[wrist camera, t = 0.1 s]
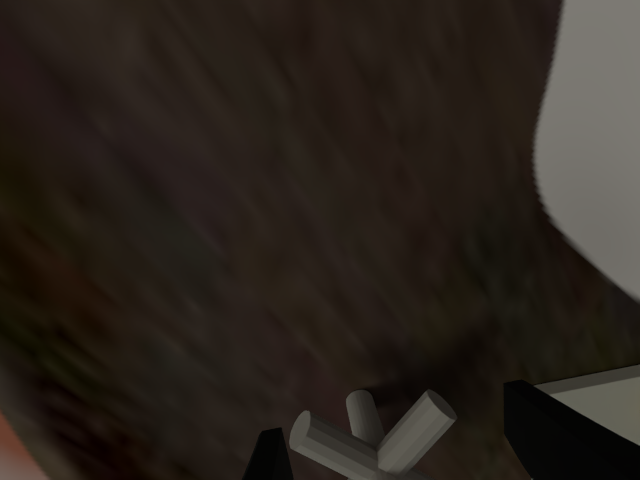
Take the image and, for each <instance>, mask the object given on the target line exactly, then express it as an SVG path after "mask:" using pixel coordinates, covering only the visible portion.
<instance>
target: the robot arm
mask: <svg viewBox="0 0 640 480" xmlns="http://www.w3.org/2000/svg"><path fill="white" fill-rule="evenodd" d="M504 434H505V436H506V438H507V439H508V441H509V443H510V445H511V446H512V448H513V450H514V452H515V453H516V455H517V457H518V458H519V460H520V461H521V463H522V465H523V466H524V468H525V469H526V471H527V472H528V474H529V475H530V476H531V478H532V479H533V480H640V446H639V445H637V444H636V443H634V442H632V441H630V440H628V439H626V438H624V437H622V436H620V435H618V434H617V433H615V432H613V431H611V430H609V429H607V428H605V427H604V426H602V425H600V424H598V423H596V422H595V421H593V420H591V419H589V418H588V417H586V416H584V415H582V414H581V413H579V412H577V411H575V410H574V409H572V408H570V407H569V406H567V405H565V404H563V403H562V402H560V401H558V400H557V399H555V398H553V397H552V396H550V395H548V394H546V393H545V392H543V391H541V390H540V389H538V388H536V387H535V386H533V385H531V384H529V383H527V382H526V381H524V380H517V381H512V382H507V383H504ZM242 480H293V474H292V469H291V465H290V461H289V457H288V453H287V449H286V444H285V440H284V436H283V432H282V428H281V427H280V428H275V429H270V430H265V431H262V432H261V433H260V435H259V437H258V440H257V443H256V446H255V448H254V451H253V454H252V456H251V459H250V461H249V464H248V466H247V469H246V471H245V474H244V476H243V478H242Z"/></svg>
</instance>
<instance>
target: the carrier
mask: <svg viewBox="0 0 640 480" xmlns="http://www.w3.org/2000/svg"><path fill="white" fill-rule="evenodd" d="M534 386H535V387H536V388H538V389H540V390H541V391H543V392H545V393H546V394H548V395H550V396H552V397H553V398H555V399H557V400H558V401H560V402H562V403H563V404H565V405H567V406H569V407H570V408H572V409H574V410H575V411H577V412H579V413H581V414H582V415H584V416H586V417H588V418H589V419H591V420H593V421H595V422H596V423H598V424H600V425H602V426H604V427H605V428H607V429H609V430H611V431H613V432H615V433H617V434H618V435H620V436H622V437H624V438H626V439H628V440H630V441H632V442H634V443H636V444H637V445H639V446H640V365H635V366H630V367H625V368H620V369H615V370H610V371H605V372H600V373H595V374H590V375H585V376H580V377H575V378H570V379H564V380H559V381H554V382H549V383H544V384H539V385H534ZM532 480H533V479H532Z"/></svg>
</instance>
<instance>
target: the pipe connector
mask: <svg viewBox="0 0 640 480" xmlns="http://www.w3.org/2000/svg"><path fill="white" fill-rule="evenodd" d="M346 405H347V410H348V415H349V419H350V424H351V429H352V433H353V435H352V434H350V433H348V432H347V431H345V430H343V429H341V428H339V427H337V426H336V425H334V424H332V423H330V422H328V421H326V420H324V419H323V418H321V417H319V416H317V415H315V414H313V413H311V412H310V411H304V412H303V413H301V414H300V415H299V417H298V418H297V420H296V421H295V423H294V426H293V428H292V431H291V434H290V441H289V443H290V448H291V449H293V450H295V451H297V452H299V453H301V454H303V455H305V456H307V457H309V458H311V459H313V460H315V461H317V462H319V463H321V464H323V465H325V466H327V467H329V468H331V469H333V470H335V471H337V472H339V473H341V474H343V475H345V476H347V477H349V478H348V479H347V480H435V479H434V478H432V477H430V476H428V475H426V474H424V473H423V472H421V471H419V470H417V469H415V468H413V466H414V465H415V464H416V463H417V462H418V460H419V459H420V458H421V457H422V456H423V455H424V454H425V453H426V452H427V451H428V450H429V449H430V448H431V446H432V445H433V444H434V443H435V442H436V441H437V440H438V439H439V438H440V437H441V436H442V435H443V434H444V432H445V431H446V430H447V429H448V428H449V427H450V426H451V425H452V424H453V423H454V422H455V421H456V419H457V416H456V414H455V412H454V411H453V409H452V408H451V407H450V405H449V404H448V403H447V402H446V401H445V400H444V399H443V398H442V397H441V396H439V395H438V394H437V393H435V392H434V391H432V390H430V389H428V390H427V391H426V392H425V393H424V394H423V395H422V396H421V397H420V398H419V399H418V401H417V402H416V403H415V404H414V405H413V406H412V407H411V408H410V410H409V411H408V412H407V413H406V414H405V415H404V416H403V417H402V419H401V420H400V421H399V422H398V423H397V424H396V425H395V426H394V428H393V429H392V430H391V431H390V432H389V433H388V434H387V435H386V437H385V434H384V431H383V428H382V425H381V422H380V419H379V415H378V412H377V409H376V406H375V403H374V400H373V397H372V395H371V394H370V393H369V392H368V391H366V390H356V391H354V392H352V393H351V394H350V395H349V396H348V397H347V400H346Z"/></svg>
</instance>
